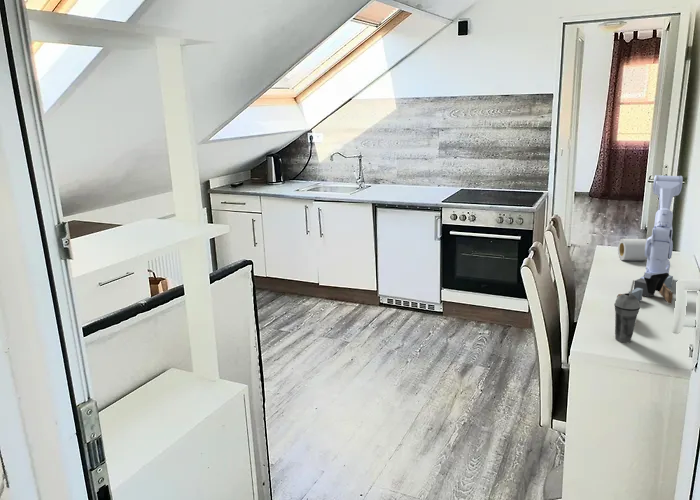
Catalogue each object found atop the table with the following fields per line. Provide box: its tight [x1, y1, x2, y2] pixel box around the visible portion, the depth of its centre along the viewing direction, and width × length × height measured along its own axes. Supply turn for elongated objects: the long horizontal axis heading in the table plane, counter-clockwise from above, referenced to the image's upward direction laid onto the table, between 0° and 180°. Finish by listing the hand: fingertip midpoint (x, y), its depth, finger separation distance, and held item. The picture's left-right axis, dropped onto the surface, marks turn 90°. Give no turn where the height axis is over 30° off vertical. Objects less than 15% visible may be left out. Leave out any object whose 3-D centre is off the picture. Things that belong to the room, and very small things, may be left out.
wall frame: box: [628, 274, 674, 302], centre depth 214 cm, size 30×2×4 cm, turn 125°
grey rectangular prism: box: [633, 277, 655, 298], centre depth 214 cm, size 4×6×5 cm, turn 35°
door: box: [658, 284, 674, 304], centre depth 211 cm, size 15×1×4 cm, turn 166°
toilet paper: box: [617, 238, 649, 262], centre depth 256 cm, size 10×10×10 cm
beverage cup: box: [614, 279, 641, 344], centre depth 174 cm, size 7×7×20 cm
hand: (654, 292), depth 211 cm, fingers closed on grey rectangular prism, 4 cm apart
